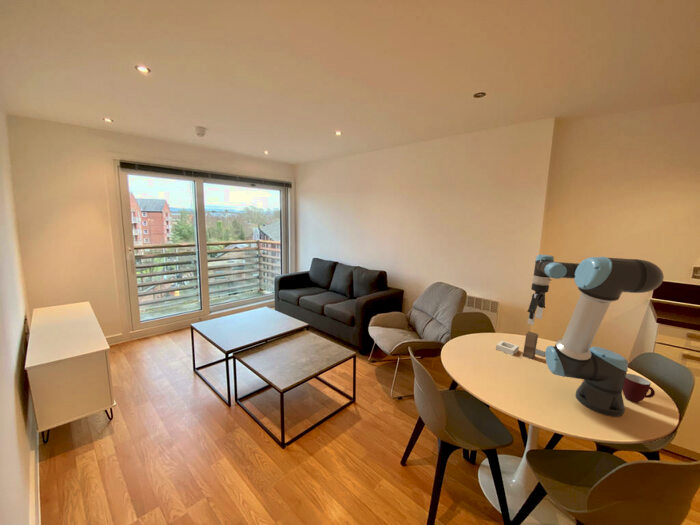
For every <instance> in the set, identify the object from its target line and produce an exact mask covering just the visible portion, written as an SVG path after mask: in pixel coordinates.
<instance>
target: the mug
mask: <svg viewBox="0 0 700 525" xmlns="http://www.w3.org/2000/svg"><path fill="white" fill-rule="evenodd" d="M649 391H650V393H649ZM648 393H649V394H648ZM622 395H623V396H624V398H625V399H626V400H627V401H629V402H631V403H634V402H635V403H634V404H638V403H640V402H642V401H643V400H644V399H646V398H648V399H649V398H653V397H654V396H655V395H656V391H655V390H654V388H653V387H651V382H650V381H649V380H648V379H646V378H644V377H641V376H639V375H636V374H634V373H626V377H625V381H624V386H623V390H622Z"/></svg>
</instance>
